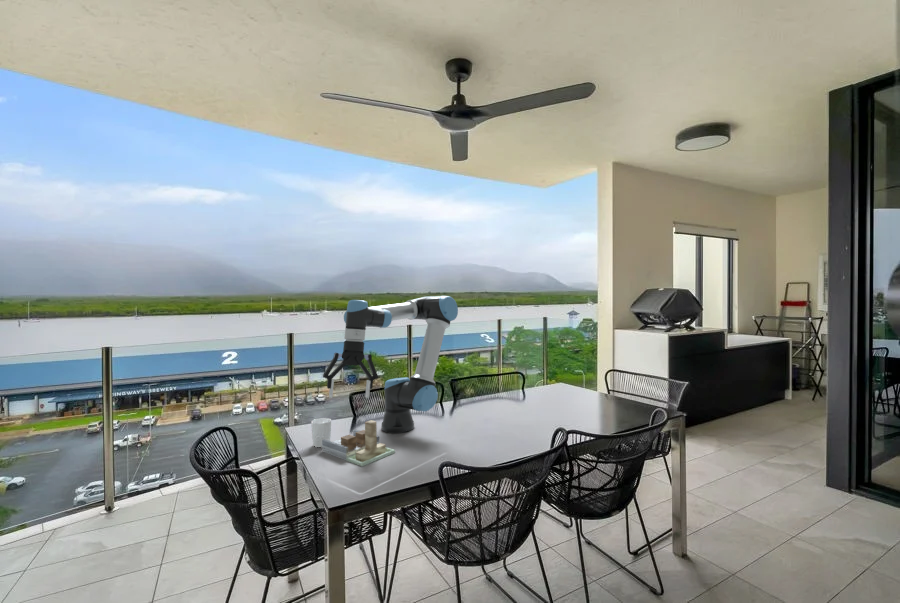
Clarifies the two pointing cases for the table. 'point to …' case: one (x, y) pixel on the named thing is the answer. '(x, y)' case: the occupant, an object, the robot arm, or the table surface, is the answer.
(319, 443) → the white cup
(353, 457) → the tray
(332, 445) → the bed
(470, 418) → the table surface
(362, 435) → the walnut cube
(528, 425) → the table surface
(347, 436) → the walnut cube
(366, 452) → the light wood block tower
